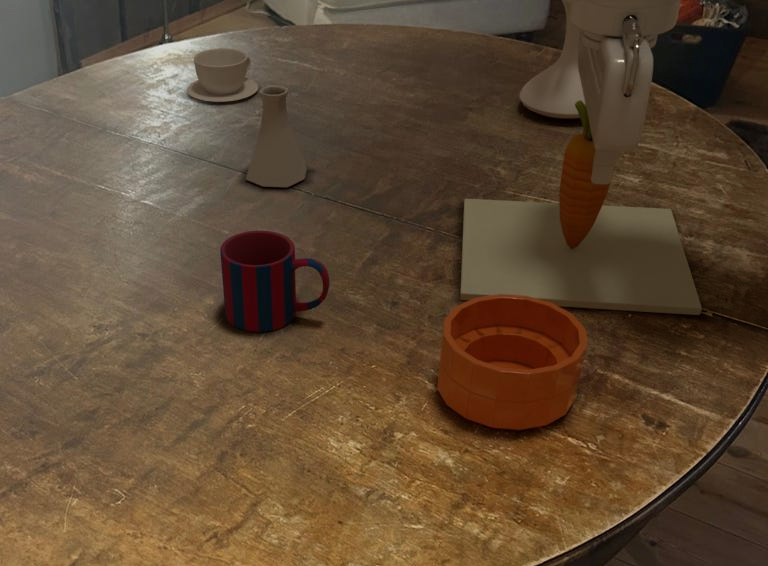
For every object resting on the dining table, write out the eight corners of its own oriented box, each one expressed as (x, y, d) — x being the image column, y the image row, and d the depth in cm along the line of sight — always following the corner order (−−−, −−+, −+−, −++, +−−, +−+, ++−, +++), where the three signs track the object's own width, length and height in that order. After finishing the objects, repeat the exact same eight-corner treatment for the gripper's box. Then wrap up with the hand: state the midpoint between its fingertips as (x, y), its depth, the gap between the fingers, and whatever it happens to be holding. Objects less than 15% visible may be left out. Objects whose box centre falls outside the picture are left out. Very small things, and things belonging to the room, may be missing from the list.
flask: (316, 168, 111) (316, 83, 104) (291, 194, 106) (289, 106, 99) (262, 159, 113) (259, 75, 106) (235, 183, 108) (229, 96, 102)
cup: (245, 288, 91) (241, 224, 86) (339, 310, 88) (340, 245, 83) (212, 323, 87) (206, 257, 82) (310, 347, 83) (309, 280, 79)
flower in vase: (530, 89, 128) (562, -123, 111) (614, 101, 124) (660, -117, 107) (503, 124, 119) (533, -101, 103) (592, 138, 116) (639, -93, 99)
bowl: (568, 358, 81) (581, 298, 77) (577, 439, 73) (592, 378, 69) (439, 349, 83) (446, 290, 79) (434, 428, 75) (441, 367, 71)
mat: (669, 215, 100) (671, 208, 100) (699, 315, 86) (702, 308, 85) (463, 204, 103) (464, 198, 103) (459, 300, 89) (460, 293, 88)
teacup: (217, 111, 125) (215, 75, 122) (173, 92, 130) (169, 57, 127) (273, 91, 130) (272, 56, 126) (227, 73, 135) (225, 40, 132)
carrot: (536, 248, 94) (563, 98, 84) (566, 231, 96) (595, 84, 86) (578, 265, 91) (610, 113, 81) (607, 248, 94) (642, 98, 84)
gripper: (683, 40, 70) (643, 210, 79) (649, -32, 85) (619, 118, 94) (597, 39, 71) (567, 208, 80) (578, -32, 86) (555, 117, 95)
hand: (595, 159), depth 87 cm, fingers open, 8 cm apart
